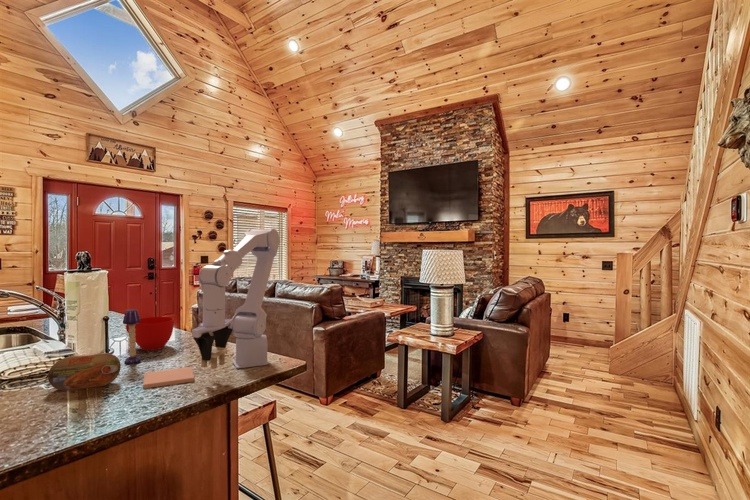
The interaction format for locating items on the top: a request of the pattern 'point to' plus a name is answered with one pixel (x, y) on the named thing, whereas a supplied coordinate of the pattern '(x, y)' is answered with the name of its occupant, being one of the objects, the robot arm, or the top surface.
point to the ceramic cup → (153, 332)
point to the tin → (84, 371)
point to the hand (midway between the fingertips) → (213, 357)
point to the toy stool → (215, 357)
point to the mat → (168, 377)
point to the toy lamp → (132, 335)
